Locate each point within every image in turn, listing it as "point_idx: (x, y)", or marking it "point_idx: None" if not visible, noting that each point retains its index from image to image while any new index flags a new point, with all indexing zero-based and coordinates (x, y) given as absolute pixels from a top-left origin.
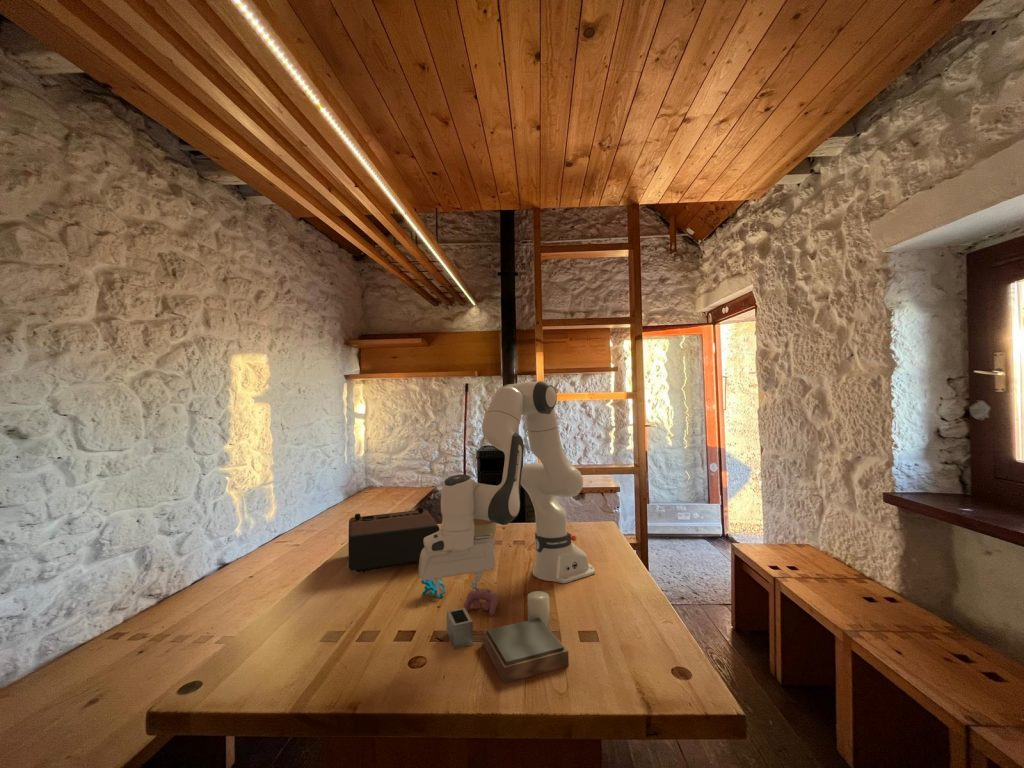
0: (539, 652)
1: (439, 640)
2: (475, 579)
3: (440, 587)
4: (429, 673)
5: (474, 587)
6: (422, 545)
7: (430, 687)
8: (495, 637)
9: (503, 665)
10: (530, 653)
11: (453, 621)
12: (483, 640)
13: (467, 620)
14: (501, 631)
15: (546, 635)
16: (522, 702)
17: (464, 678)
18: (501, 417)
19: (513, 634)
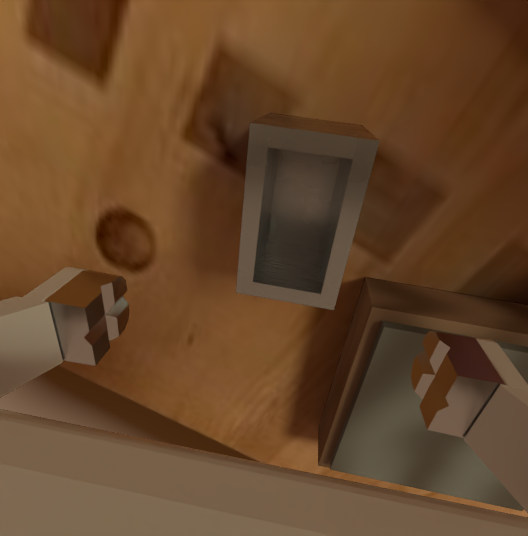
0: (440, 490)
1: (222, 153)
2: (502, 415)
3: (65, 341)
4: (155, 309)
5: (424, 392)
6: None
7: (151, 353)
8: (378, 380)
9: (320, 460)
10: (414, 481)
11: (248, 259)
12: (366, 288)
13: (326, 266)
14: None
15: None
16: (319, 473)
17: (238, 370)
18: None
19: None
